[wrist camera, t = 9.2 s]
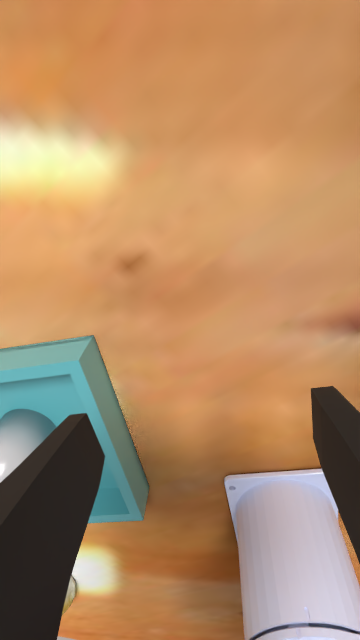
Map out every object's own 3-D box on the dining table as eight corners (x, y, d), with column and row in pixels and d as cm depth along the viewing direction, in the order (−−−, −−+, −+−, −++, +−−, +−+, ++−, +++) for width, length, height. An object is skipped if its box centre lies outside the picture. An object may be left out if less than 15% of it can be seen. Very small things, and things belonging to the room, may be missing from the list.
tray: (149, 486, 27) (143, 520, 25) (-8, 497, 29) (-28, 529, 27) (93, 335, 21) (78, 360, 18) (-100, 363, 23) (-136, 389, 21)
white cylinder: (67, 453, 25) (36, 519, 21) (11, 455, 26) (-30, 519, 21) (49, 407, 23) (11, 469, 19) (-10, 410, 24) (-61, 470, 19)
